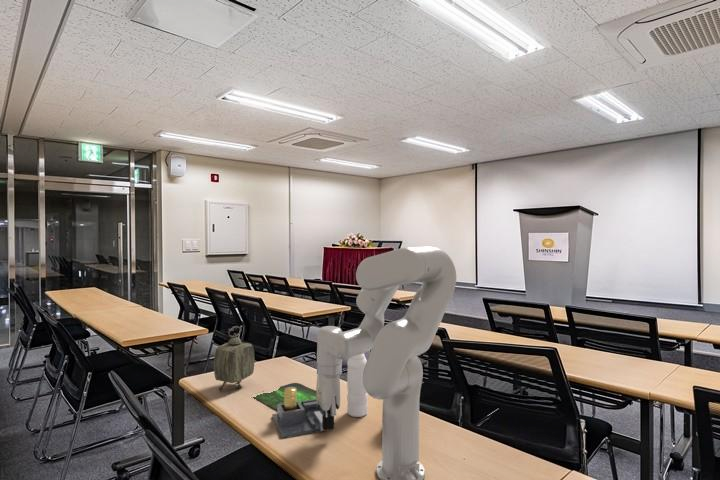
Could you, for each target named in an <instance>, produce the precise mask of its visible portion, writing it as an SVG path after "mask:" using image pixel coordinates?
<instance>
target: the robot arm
mask: <svg viewBox="0 0 720 480" xmlns="http://www.w3.org/2000/svg"><path fill="white" fill-rule="evenodd" d="M454 264H455V263H454V262H453V260H452V259H451V257H450V256H449V254H448V253H447V252H446V251H444V250H443V249H441V248H439V247H433V246H410V247H402V248H396V249H394V250H391V251H387V252H382V253H380V254H376V255H372V256H369V257H366V258H364V259H363V260H361V262H359V265H358V266H357V269H356V272H355V280H356V282H357V284H358V286H359V287H360V288H361V289H360V291H359V292H358V295H357V296H356V300H355V301H356V302H355V303H356V306H357V308H358V309H359V310H360V311H361V312H362V313H364V314H365V315H364V317H363V319H362V321H361V322H360V325H359V326H358V327H356V328H352V329H349V330H346V331H345V330H344V331H343V330H342V329H341V328H340V326H333V325H326V326H325V325H324V326H321V327H319V328H318V330H317V339H316V340H317V342H316V344H317V345H316V375H317V376H316V386H315V387H316V389H315V391H316V401H317V402H318V404H319V405H320V407H321V408H322V413H323V416H322V428H323V429H324V430H325V431H330V429H331V430H333V429H334V428H335V416H337V410H339V409H340V407H341V380H340V379H341V377H340V376H341V375H342V372H343V368H342V367H343V360H345V361H346V360H348V359H349V358H351V357H354V356H357V355H360V354H363V353H364V354H366V353H367V352H369V351H370V352H369V355H368V357H367V358H366V360H367V362H366V364H365V367H364V371H363V384H364V387H365V390H366V391H367V395H368V396H370V397H372V398H373V399H376V400H382V415H381V416H382V419H381V420H382V421H381V422H382V423H381V426H382V427H381V429H382V431H381V432H382V435H381V437H382V439H381V440H382V442H381V443H382V444H381V445H382V450H381V451H382V452H381V455H382V456H381V460H380V461H378V463H377V465H376V475H377V477H378V479H379V480H424V479H425V475H426V468H425V466H424V465H423V464H422V463H421V462H420V397H421V389H422V384H423V383H422V382H423V375H424V372H423V371H424V369H423V364H422V362H421V360H420V358H419V357H418V356H420V355H423V354H425V353H426V352H427V351H428V350H429V349H430V347H431V346H432V343H433V341H434V339H435V337H436V333H437V332H438V330H439V327H440V325H441V323H442V320H443V318H444V315H445V313H446V310H447V308H448V306H449V304H450V301H451V300H452V297H453V296H454V292H455V289H456V286H457V271H456V270H457V269H456V266H455V265H454ZM414 283H421V285H420V287H419V288H418V290H417V291H416V292H415V293H414V294H415V295H414V296H413V298H412V299H411V303H409V306H408V309H407V311H406V313H405V315H404V316H403V317H402V318H400V319H397V320H394V321H391V322H388V323H386V324H385V312H386V310H387V308H389V307H388V306H389V305H390V303H391V301H392V300H393V299H394V296H395V294H396V293H397V291H398V290H399V287H400V286H402V285H409V284H414Z"/></svg>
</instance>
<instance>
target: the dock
mask: <svg viewBox="0 0 720 480" xmlns="http://www.w3.org/2000/svg"><path fill="white" fill-rule="evenodd" d="M316 411H320V412H321V414H322V415H323V413H322V408H321V407H320V405H319V404H318V402H317V401H316V399H312V400H305V401H301V403H300V402H299V401H297V405H296V410H291V411H285V412H284V404H277V411H276V412H277V413H272V414H271V415H272V416H271V417H272V419H273V422H274V425H275V426H276V428H277V429H276V430H278V433H279V436H280V437H281V439H286V438H287V439H288V438H292V437H295V436H296V437H297V436H298V437H299V436H303V435H308V434H312V433H313V434H314V433H319V432H321V431H320V430H319V426H318V425H317V423H316V422H315V420H314V412H316ZM330 430H332V429H330ZM330 430H329V431H330ZM324 431H326V430H324Z"/></svg>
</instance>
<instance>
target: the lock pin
mask: <svg viewBox="0 0 720 480" xmlns="http://www.w3.org/2000/svg"><path fill="white" fill-rule="evenodd" d="M322 416H323V415H322V414H321V412H320V411H316V412H314V420H315V422H316V423H317V425H318V426H319V430H320V432H323V431H324V429H323V428H322Z"/></svg>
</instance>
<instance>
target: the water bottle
mask: <svg viewBox="0 0 720 480" xmlns="http://www.w3.org/2000/svg"><path fill="white" fill-rule="evenodd" d="M366 362H367V358H366V355H365V353H363V354H360V355H357V356H354V357H351V358H348V359H347V362H346V363H347V364H346V365H347V375H346V378H347V379H346V380H347V383H346V385H347V386H346V387H347V397H346V401H347V407H346V413H347V414H348V415H349V416H350V417H353V418H362V417H364V416H366V415H367V414H368V393H367V391H366V390H365V387H364V384H363V371H364V367H365V364H366Z"/></svg>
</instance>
